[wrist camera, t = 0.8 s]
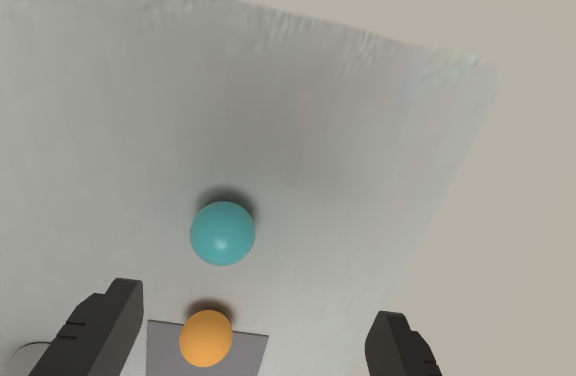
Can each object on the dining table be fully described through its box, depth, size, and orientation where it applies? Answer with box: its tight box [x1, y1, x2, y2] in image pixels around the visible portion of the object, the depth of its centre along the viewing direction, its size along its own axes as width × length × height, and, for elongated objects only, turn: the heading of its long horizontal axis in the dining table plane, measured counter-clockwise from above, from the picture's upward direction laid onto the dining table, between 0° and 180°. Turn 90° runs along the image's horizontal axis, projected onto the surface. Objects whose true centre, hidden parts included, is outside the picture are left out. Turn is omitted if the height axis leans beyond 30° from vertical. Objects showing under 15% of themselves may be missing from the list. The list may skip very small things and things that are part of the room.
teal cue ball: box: [190, 201, 255, 266], centre depth 27 cm, size 6×6×6 cm
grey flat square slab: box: [146, 320, 269, 376], centre depth 40 cm, size 14×14×1 cm
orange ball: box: [179, 310, 233, 367], centre depth 34 cm, size 6×6×6 cm
